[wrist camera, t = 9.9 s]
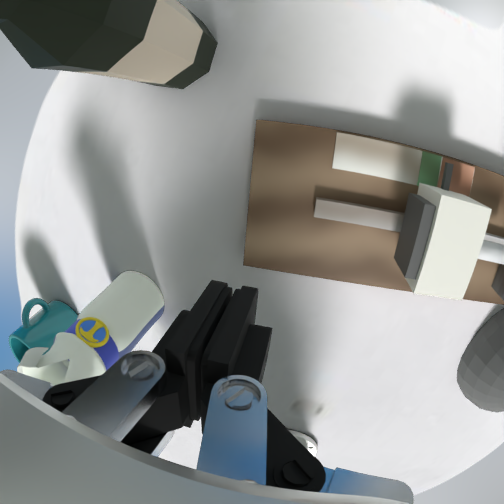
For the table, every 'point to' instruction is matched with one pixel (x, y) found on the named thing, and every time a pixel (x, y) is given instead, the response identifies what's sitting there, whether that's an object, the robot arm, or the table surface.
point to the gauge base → (352, 205)
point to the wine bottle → (111, 38)
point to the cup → (41, 326)
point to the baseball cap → (485, 366)
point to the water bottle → (99, 332)
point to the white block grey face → (443, 240)
